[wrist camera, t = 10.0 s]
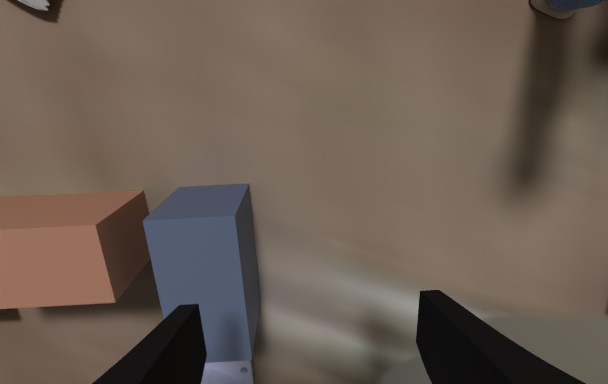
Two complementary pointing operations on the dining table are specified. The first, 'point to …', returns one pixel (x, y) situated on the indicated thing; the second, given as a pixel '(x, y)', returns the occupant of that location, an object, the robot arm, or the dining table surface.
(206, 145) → the dining table surface
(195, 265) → the navy brick
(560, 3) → the doll family
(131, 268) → the terracotta brick
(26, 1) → the food package
